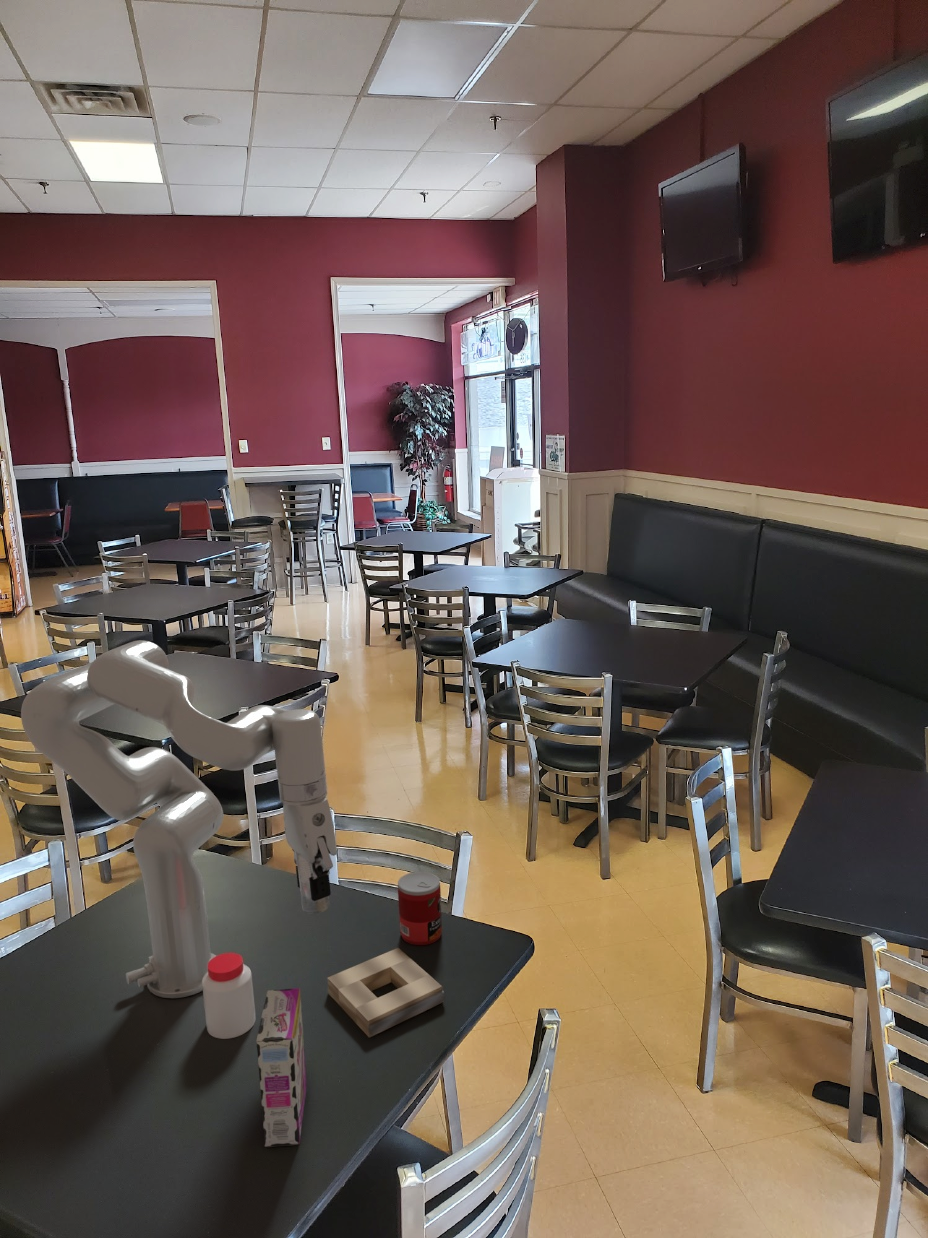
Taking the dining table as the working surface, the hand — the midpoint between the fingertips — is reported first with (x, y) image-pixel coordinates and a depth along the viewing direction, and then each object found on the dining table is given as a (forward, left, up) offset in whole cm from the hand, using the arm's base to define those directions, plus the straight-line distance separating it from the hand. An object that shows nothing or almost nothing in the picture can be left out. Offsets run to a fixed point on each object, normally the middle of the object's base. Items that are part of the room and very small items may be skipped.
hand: (314, 890), depth 144 cm
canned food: (+23, +5, -20) cm, 31 cm away
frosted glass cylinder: (0, 0, -3) cm, 3 cm away
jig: (+8, -7, -20) cm, 23 cm away
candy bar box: (-16, -21, -20) cm, 33 cm away
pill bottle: (-15, +3, -20) cm, 25 cm away
